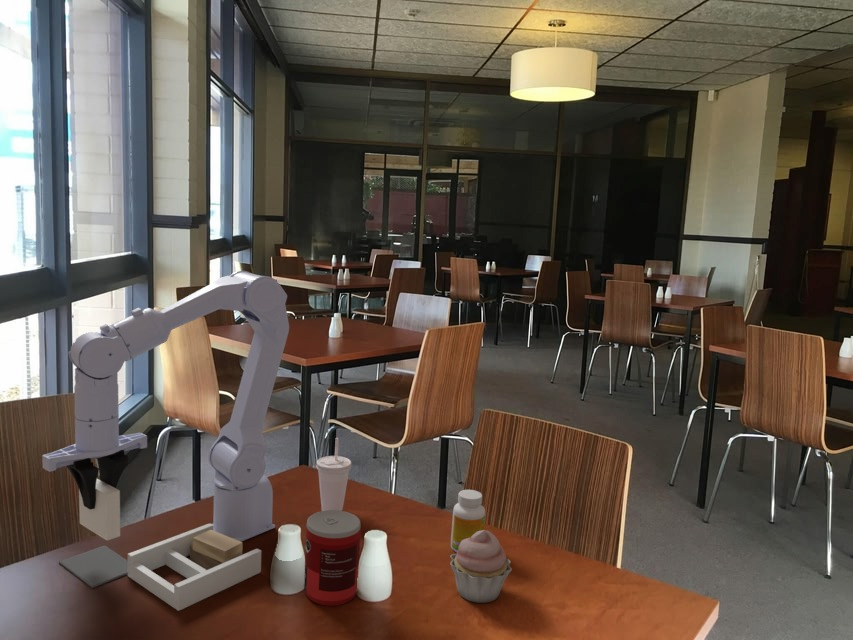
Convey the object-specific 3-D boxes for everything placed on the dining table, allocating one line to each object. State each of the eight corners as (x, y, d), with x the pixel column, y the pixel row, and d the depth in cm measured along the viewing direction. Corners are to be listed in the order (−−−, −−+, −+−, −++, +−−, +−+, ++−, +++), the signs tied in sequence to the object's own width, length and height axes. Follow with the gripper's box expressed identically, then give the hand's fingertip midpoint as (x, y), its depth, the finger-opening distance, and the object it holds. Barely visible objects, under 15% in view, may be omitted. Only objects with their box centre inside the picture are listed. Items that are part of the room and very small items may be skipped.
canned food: (326, 572, 105) (329, 504, 103) (368, 589, 101) (372, 519, 99) (292, 594, 98) (294, 522, 97) (335, 613, 94) (339, 539, 93)
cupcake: (455, 612, 96) (460, 546, 95) (441, 577, 106) (445, 516, 104) (518, 608, 98) (524, 543, 97) (499, 574, 107) (504, 514, 106)
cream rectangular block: (92, 519, 104) (92, 475, 103) (120, 536, 100) (119, 490, 99) (79, 523, 103) (78, 479, 102) (107, 540, 98) (106, 494, 97)
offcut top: (210, 541, 108) (210, 529, 108) (242, 554, 104) (242, 542, 104) (192, 549, 105) (192, 537, 105) (224, 563, 101) (225, 551, 101)
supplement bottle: (485, 556, 113) (490, 500, 111) (453, 556, 112) (457, 501, 111) (478, 540, 118) (482, 487, 117) (447, 541, 117) (451, 487, 116)
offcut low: (209, 553, 109) (210, 538, 109) (243, 574, 103) (243, 559, 103) (190, 560, 106) (190, 546, 106) (223, 583, 101) (223, 567, 100)
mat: (104, 546, 108) (104, 545, 108) (138, 569, 102) (138, 567, 102) (59, 563, 103) (59, 561, 103) (92, 588, 97) (92, 586, 97)
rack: (209, 543, 111) (209, 523, 111) (260, 572, 104) (261, 550, 103) (127, 576, 100) (127, 553, 100) (178, 611, 93) (178, 587, 92)
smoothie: (356, 510, 127) (359, 438, 125) (334, 522, 122) (337, 447, 119) (329, 501, 130) (332, 431, 128) (307, 512, 125) (309, 439, 123)
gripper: (129, 400, 107) (130, 483, 109) (31, 419, 95) (33, 510, 98) (154, 410, 103) (154, 496, 105) (55, 431, 91) (57, 526, 93)
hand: (98, 504), depth 101 cm, fingers closed on cream rectangular block, 2 cm apart
